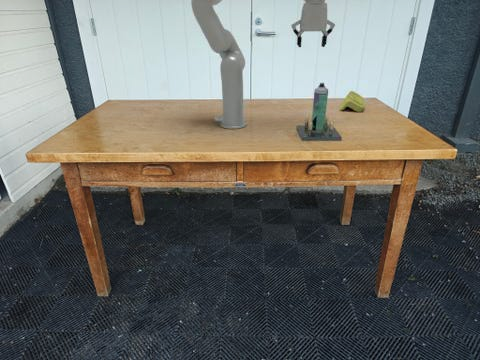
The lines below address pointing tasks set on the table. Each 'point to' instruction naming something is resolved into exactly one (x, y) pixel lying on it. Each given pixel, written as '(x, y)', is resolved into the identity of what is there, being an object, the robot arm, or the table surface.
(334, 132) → the post plate
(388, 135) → the table surface
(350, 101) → the plastic component
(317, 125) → the spray can
